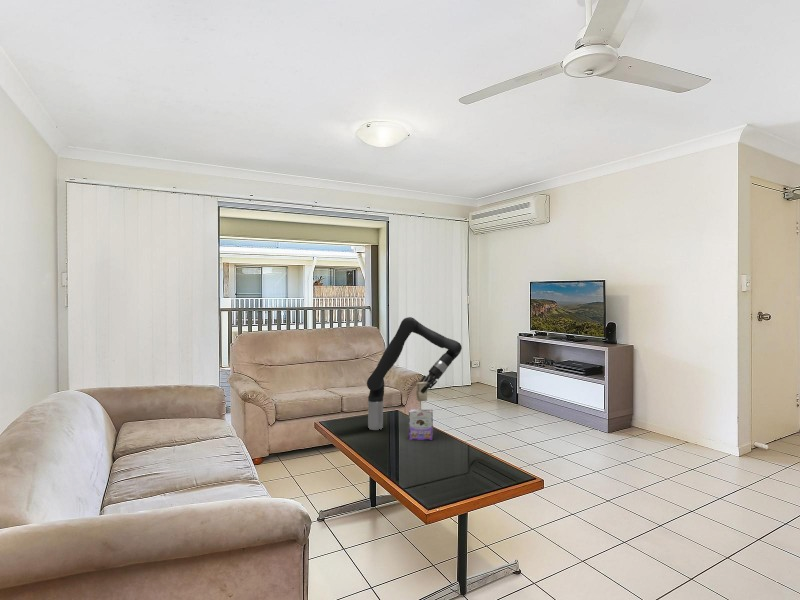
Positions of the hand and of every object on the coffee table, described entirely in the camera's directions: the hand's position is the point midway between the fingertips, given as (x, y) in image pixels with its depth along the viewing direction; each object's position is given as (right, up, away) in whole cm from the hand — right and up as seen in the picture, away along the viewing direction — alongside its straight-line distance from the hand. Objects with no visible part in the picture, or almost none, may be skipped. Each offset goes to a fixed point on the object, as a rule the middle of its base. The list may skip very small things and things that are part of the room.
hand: (420, 391), depth 258 cm
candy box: (+1, -28, 0) cm, 27 cm away
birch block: (+1, -5, 0) cm, 5 cm away
